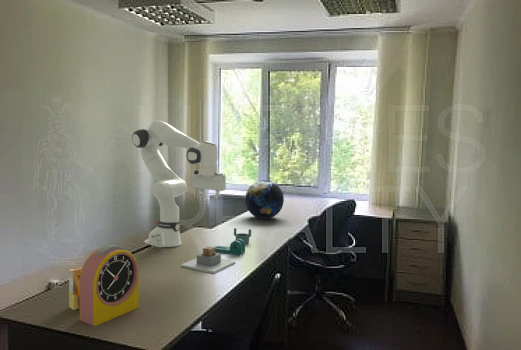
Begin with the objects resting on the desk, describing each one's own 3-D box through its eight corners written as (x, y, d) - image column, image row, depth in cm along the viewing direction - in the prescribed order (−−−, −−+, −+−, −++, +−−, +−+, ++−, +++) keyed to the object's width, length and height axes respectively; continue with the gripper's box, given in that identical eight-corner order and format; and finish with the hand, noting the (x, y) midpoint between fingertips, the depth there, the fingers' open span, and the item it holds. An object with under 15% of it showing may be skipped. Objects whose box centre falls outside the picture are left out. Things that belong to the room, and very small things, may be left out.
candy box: (90, 301, 186) (90, 264, 184) (95, 304, 183) (95, 267, 181) (68, 307, 179) (68, 269, 178) (73, 310, 176) (73, 271, 175)
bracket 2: (252, 244, 282) (252, 229, 282) (238, 245, 278) (239, 230, 277) (245, 240, 290) (245, 226, 289) (231, 242, 285) (232, 227, 285)
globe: (259, 213, 379) (260, 176, 375) (290, 218, 361) (291, 180, 358) (236, 218, 355) (237, 179, 351) (268, 224, 337) (270, 184, 334)
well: (181, 266, 234) (181, 255, 233) (203, 257, 252) (204, 247, 251) (214, 273, 225) (214, 262, 224) (235, 263, 242) (235, 253, 242)
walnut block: (202, 263, 237) (202, 248, 236) (207, 261, 241) (207, 246, 240) (209, 264, 235) (210, 249, 234) (214, 262, 239) (215, 247, 238)
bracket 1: (245, 252, 264) (245, 239, 263) (241, 255, 257) (241, 241, 256) (215, 249, 269) (216, 235, 268) (211, 252, 262) (211, 238, 262)
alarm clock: (95, 326, 164) (94, 254, 161) (78, 319, 169) (78, 249, 166) (139, 307, 182) (139, 241, 179) (123, 301, 187) (123, 238, 184)
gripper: (228, 173, 243) (227, 198, 245) (197, 169, 253) (196, 194, 254) (222, 174, 238) (221, 200, 239) (190, 170, 247) (189, 196, 249)
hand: (208, 197), depth 247 cm, fingers open, 8 cm apart
